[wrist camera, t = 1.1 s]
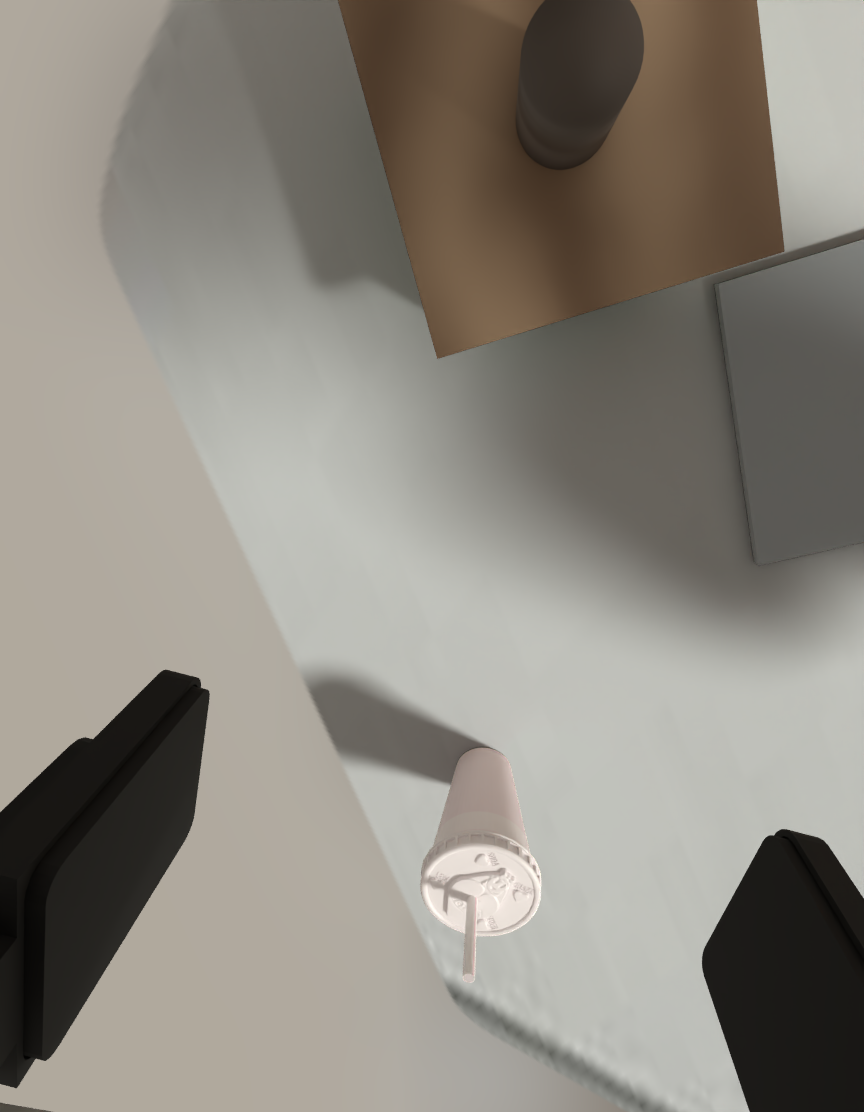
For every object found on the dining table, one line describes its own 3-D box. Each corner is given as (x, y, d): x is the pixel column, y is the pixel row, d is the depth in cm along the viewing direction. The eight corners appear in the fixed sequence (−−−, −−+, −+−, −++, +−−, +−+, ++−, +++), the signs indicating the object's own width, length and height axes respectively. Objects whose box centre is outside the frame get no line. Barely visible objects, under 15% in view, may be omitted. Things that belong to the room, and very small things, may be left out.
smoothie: (416, 764, 41) (379, 961, 28) (487, 712, 40) (483, 897, 26) (479, 825, 43) (472, 1041, 29) (552, 776, 41) (579, 984, 28)
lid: (724, -191, 20) (807, -386, 15) (775, 254, 24) (855, 228, 19) (334, -20, 23) (284, -132, 18) (439, 358, 27) (424, 362, 22)
